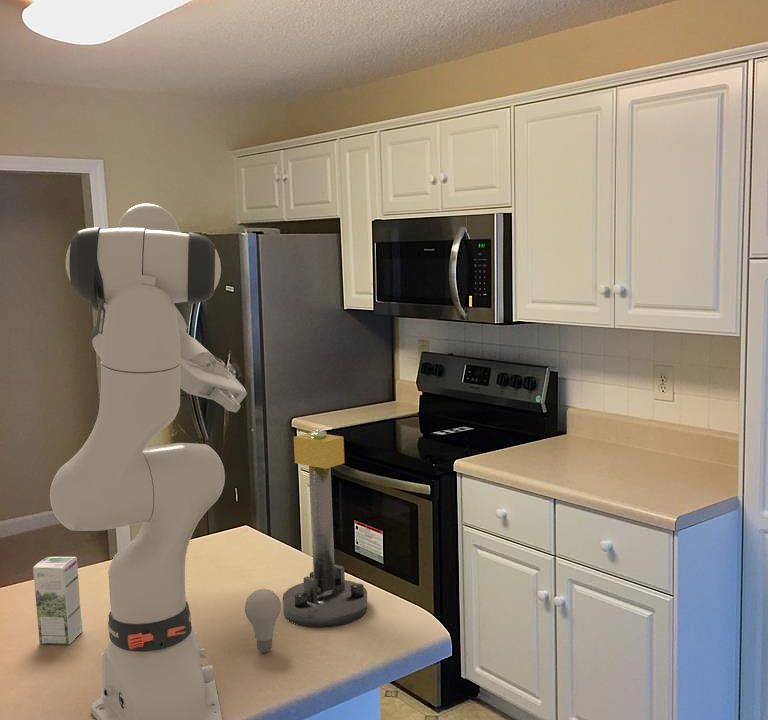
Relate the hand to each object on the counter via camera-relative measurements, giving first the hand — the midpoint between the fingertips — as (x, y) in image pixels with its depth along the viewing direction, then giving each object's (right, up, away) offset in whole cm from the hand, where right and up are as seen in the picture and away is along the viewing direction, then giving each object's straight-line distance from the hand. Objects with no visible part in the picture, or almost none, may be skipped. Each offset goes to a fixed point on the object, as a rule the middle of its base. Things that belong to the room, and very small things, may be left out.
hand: (235, 408), depth 167 cm
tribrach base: (+17, -38, -1) cm, 42 cm away
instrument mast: (+17, -34, -2) cm, 38 cm away
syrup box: (-29, -41, -11) cm, 51 cm away
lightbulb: (+8, -41, -18) cm, 45 cm away
